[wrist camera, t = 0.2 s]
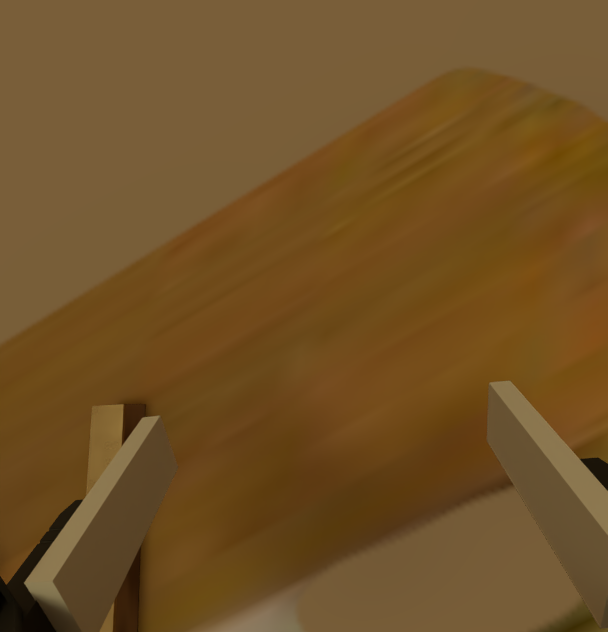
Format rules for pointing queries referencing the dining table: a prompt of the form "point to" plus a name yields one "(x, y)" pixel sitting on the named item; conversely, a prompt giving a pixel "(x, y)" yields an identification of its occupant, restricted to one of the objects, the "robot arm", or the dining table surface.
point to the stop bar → (105, 442)
